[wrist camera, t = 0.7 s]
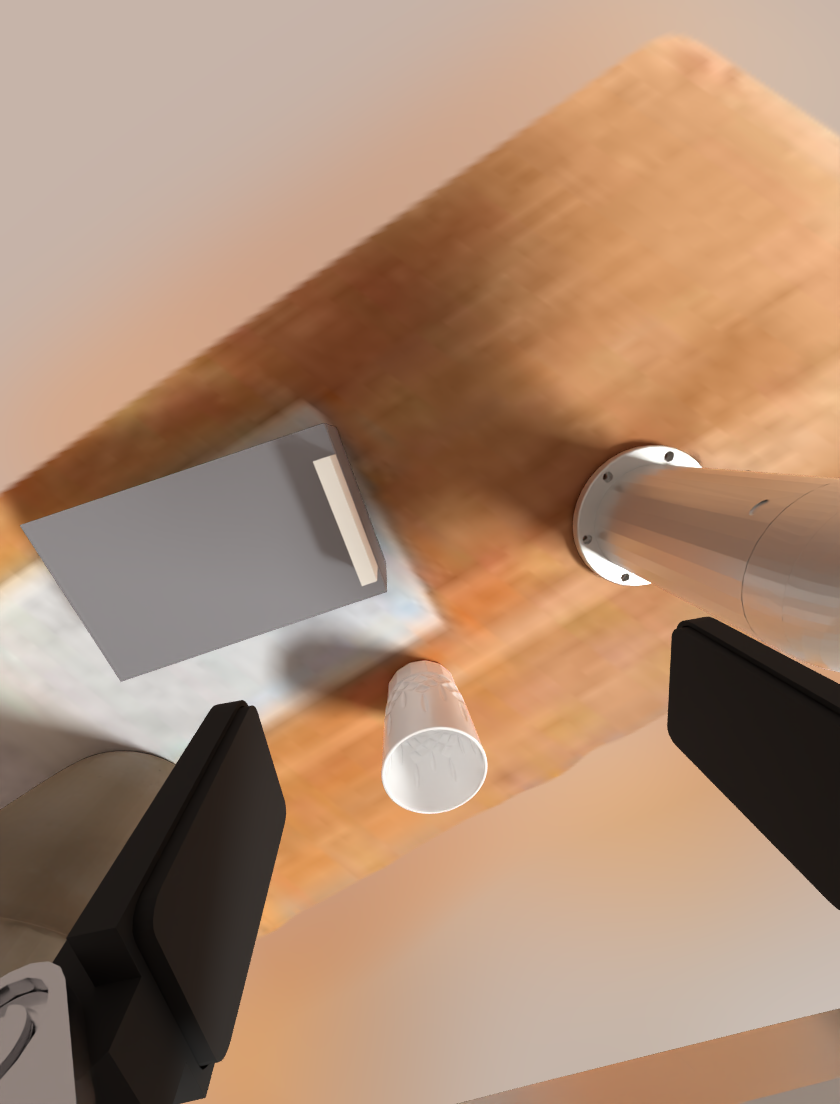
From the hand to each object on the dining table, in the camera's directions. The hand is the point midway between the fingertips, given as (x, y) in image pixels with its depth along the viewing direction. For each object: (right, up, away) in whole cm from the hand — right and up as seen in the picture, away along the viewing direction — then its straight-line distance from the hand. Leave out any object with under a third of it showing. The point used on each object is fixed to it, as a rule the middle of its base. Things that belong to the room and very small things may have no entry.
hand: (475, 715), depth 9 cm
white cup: (-1, -10, +30) cm, 31 cm away
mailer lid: (-15, +3, +18) cm, 24 cm away
